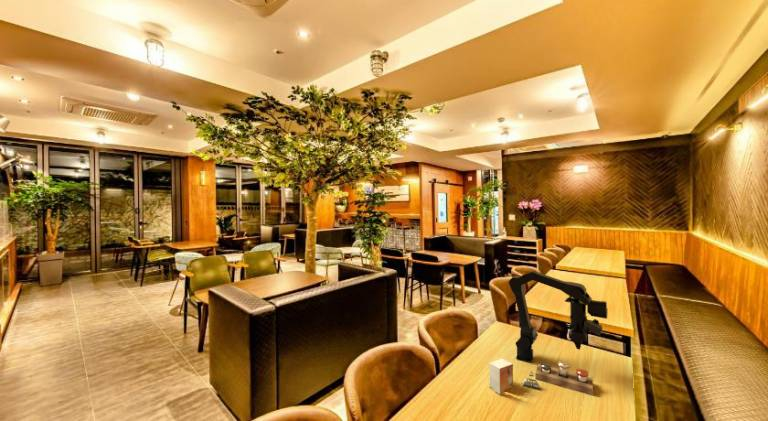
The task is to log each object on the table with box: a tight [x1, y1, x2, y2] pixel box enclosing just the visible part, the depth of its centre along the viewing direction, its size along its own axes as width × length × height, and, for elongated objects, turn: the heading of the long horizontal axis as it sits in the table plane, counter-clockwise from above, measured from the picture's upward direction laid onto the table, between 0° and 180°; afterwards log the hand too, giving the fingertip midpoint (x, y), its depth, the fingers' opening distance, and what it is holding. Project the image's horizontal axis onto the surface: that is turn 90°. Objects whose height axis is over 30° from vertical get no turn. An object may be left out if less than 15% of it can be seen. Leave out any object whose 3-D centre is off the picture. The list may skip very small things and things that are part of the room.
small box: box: [488, 358, 514, 395], centre depth 122 cm, size 8×6×10 cm
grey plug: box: [540, 362, 552, 374], centre depth 128 cm, size 4×4×6 cm
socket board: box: [534, 363, 594, 396], centre depth 124 cm, size 20×9×4 cm, turn 55°
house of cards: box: [521, 371, 541, 391], centre depth 123 cm, size 9×9×8 cm
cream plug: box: [557, 360, 570, 379], centre depth 124 cm, size 4×4×6 cm
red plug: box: [575, 368, 589, 384], centre depth 120 cm, size 4×4×6 cm
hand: (578, 349), depth 129 cm, fingers closed
